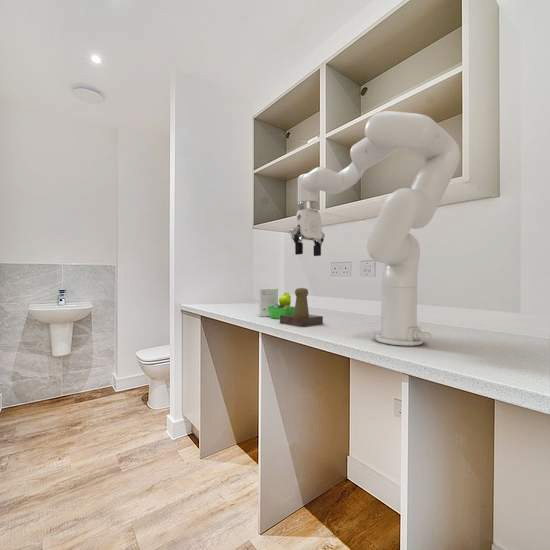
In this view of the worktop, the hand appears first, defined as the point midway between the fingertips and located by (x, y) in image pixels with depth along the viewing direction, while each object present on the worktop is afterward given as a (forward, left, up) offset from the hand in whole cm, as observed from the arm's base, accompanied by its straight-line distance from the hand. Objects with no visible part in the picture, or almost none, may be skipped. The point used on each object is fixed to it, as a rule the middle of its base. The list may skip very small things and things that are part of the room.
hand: (308, 255), depth 114 cm
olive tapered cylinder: (+8, -5, -24) cm, 25 cm away
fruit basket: (+24, -10, -27) cm, 37 cm away
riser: (+8, -5, -26) cm, 28 cm away
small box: (+35, -11, -27) cm, 45 cm away
